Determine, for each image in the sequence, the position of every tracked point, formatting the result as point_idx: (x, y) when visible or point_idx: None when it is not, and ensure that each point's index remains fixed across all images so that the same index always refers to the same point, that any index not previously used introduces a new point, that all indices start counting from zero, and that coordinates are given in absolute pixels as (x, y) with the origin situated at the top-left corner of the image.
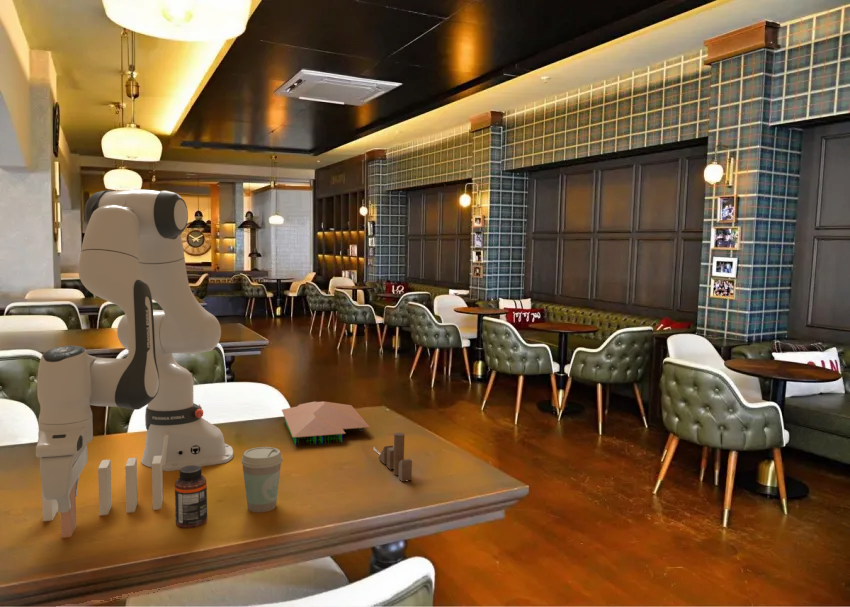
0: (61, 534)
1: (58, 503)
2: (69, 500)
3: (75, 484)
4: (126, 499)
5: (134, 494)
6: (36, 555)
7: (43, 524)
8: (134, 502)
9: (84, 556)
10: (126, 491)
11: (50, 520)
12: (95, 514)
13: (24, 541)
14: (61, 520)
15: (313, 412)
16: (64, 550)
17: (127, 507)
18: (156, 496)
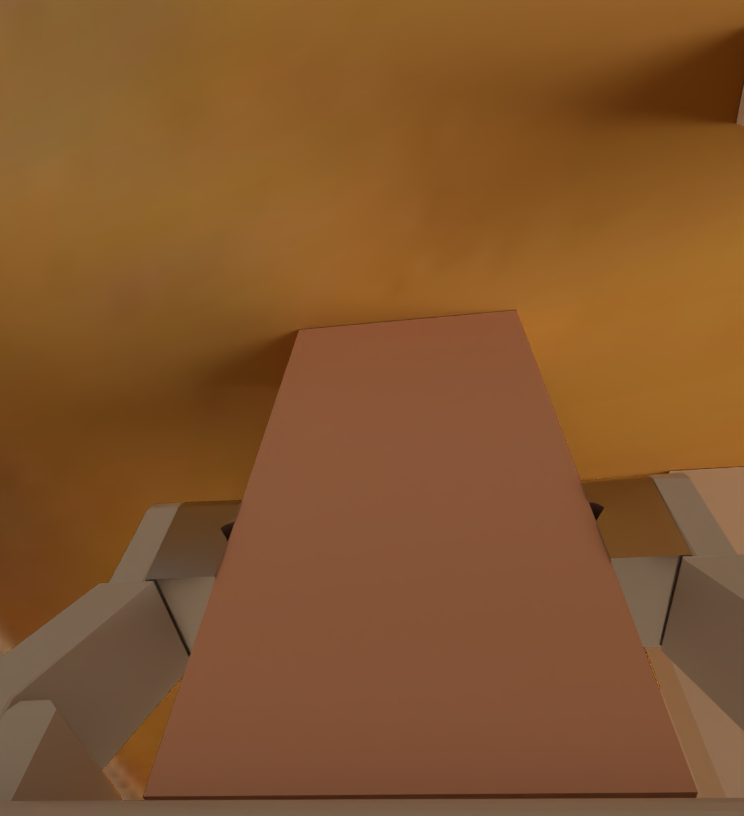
0: (294, 348)
1: (96, 594)
2: (166, 680)
3: (711, 677)
4: (681, 685)
5: (684, 749)
6: (24, 237)
7: (679, 55)
8: (661, 690)
9: (56, 513)
10: (705, 752)
11: (742, 107)
12: (717, 441)
13: (281, 8)
14: (272, 419)
15: None
16: (120, 398)
17: None
18: None
